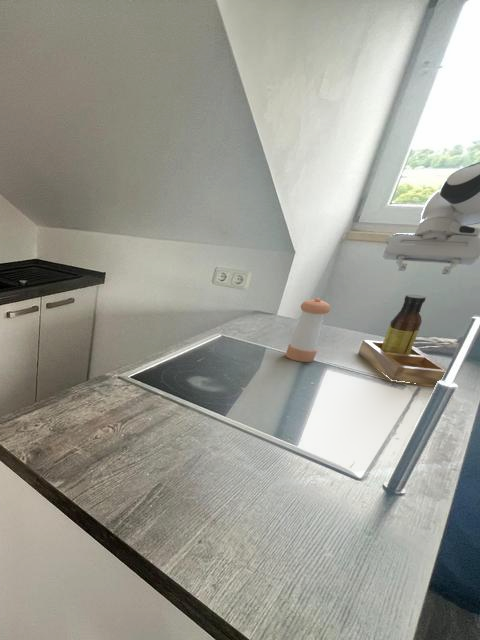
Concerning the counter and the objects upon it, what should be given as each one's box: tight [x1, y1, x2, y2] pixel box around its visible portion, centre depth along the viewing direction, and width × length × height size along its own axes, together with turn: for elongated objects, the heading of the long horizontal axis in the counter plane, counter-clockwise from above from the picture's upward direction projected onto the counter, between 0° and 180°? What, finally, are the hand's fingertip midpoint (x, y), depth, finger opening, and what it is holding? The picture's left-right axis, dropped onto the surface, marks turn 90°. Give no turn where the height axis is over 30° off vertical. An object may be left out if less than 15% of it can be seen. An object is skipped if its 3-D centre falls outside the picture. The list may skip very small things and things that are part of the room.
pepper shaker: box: [285, 297, 331, 363], centre depth 119 cm, size 7×7×19 cm
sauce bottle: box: [381, 294, 427, 354], centre depth 113 cm, size 7×6×20 cm
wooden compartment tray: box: [358, 339, 448, 388], centre depth 112 cm, size 12×22×5 cm, turn 159°
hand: (423, 271), depth 118 cm, fingers open, 8 cm apart
